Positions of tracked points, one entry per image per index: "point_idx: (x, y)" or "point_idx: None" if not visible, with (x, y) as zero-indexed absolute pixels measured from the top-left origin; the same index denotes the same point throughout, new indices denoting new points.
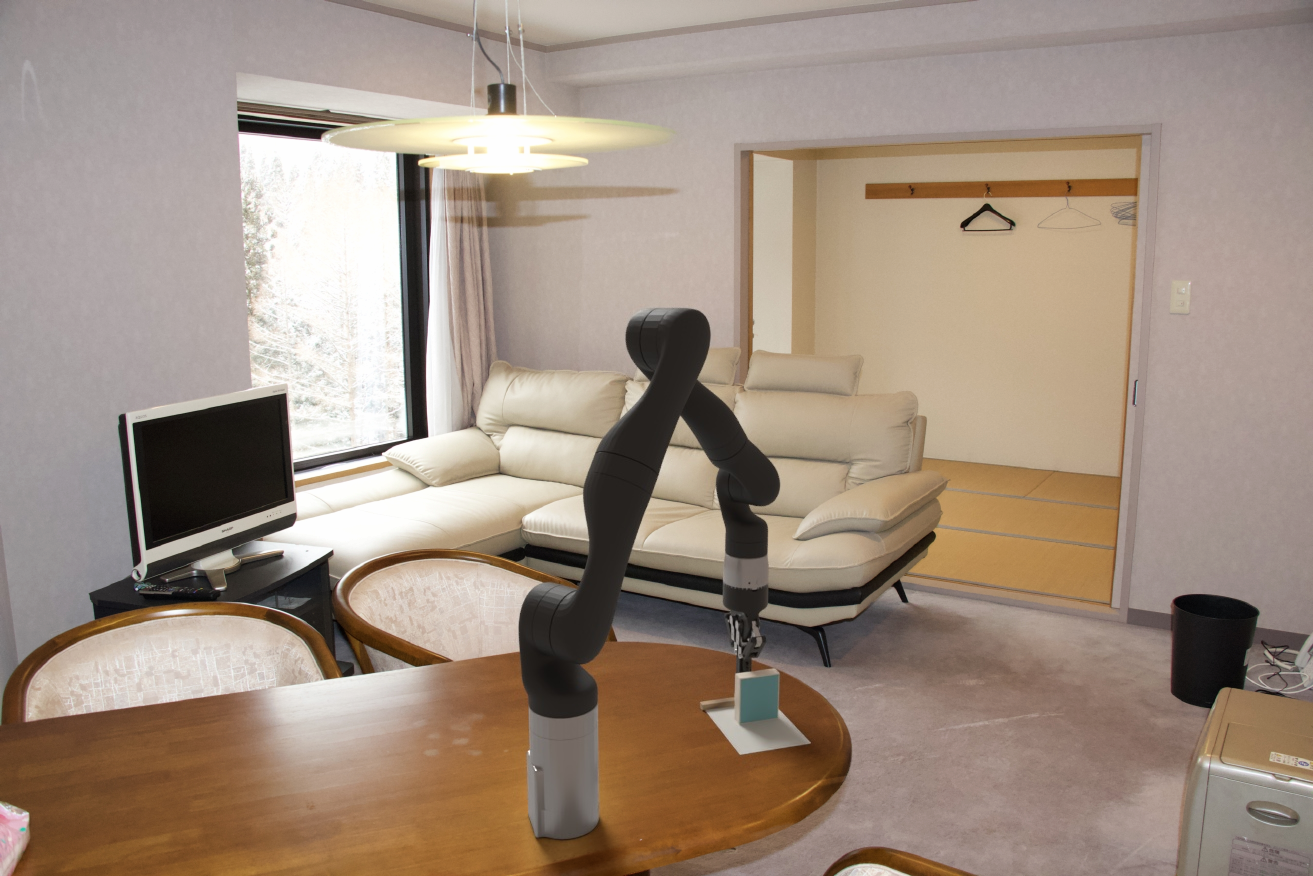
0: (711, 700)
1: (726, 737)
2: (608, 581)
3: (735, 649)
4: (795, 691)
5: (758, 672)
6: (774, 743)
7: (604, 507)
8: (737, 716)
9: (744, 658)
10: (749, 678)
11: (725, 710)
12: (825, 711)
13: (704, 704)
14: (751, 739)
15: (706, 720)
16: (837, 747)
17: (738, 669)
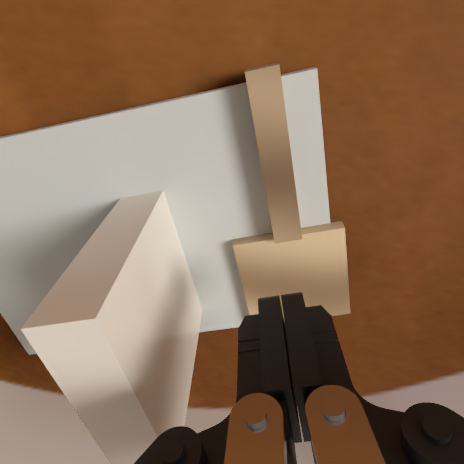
0: (285, 125)
1: (12, 135)
2: None
3: (340, 423)
4: (357, 378)
5: (121, 418)
6: (4, 276)
7: None
8: (126, 206)
9: (157, 441)
10: (52, 369)
11: (236, 170)
12: (231, 407)
13: (248, 84)
14: (17, 218)
15: (197, 79)
16: (51, 388)
17: (270, 326)
